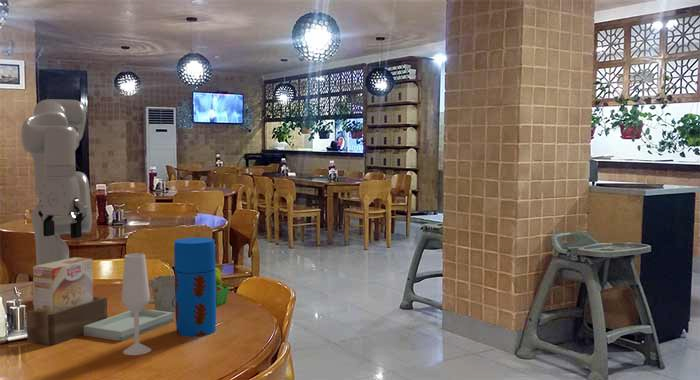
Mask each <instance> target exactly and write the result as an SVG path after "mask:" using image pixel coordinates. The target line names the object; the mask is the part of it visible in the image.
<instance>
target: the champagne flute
mask: <svg viewBox="0 0 700 380" xmlns="http://www.w3.org/2000/svg"><path fill="white" fill-rule="evenodd" d="M123 261H124V263H123V274H122V287H121V289H122V290H121V303H122V304H123V305H124V307H125V308H126V309H127V310H128V311H131V312H133V313H134V337H133V338H134V343H133V344H131V345H130V346H129V347H127V348H125V349H124V350H123V351H122V353H123V354H124V355H127V356H128V355H129V356H139V355H144V354H147V353H149V352H151V351H152V348H150V347H149V346H147V345H144V344H142V343H140V334H139V312H140V311H141V310H142V309H145V307H147V305H149V303H148V302H149V300H150V301H151V295H150V286H149V285H148V282H149V278H148V277H149V276H148V270H147V261H146V254H145V253H129V254H125V255H124V260H123Z"/></svg>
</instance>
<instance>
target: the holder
mask: <svg viewBox="0 0 700 380" xmlns="http://www.w3.org/2000/svg"><path fill="white" fill-rule="evenodd" d="M107 303H108V298H107V297H101V296H93V301H92V302H88V303H85V304H82V305H78V306H75V307H71V308H68V309H65V310H61V311H58V312H55V313H51V314H50V313H44V312H37V311H34V310H26V311H25V312H26V313H25V315H26V336H27V337H26V338H27V340H26V341H27V343H32V344H38V345H45V346H50V347H52V346H55V345H58V344H60V343H61V344H62V343H64V342H67V341H70V340H73V339H75V338H76V339H77V338H78V337H80V336H85V335H84V326H85V325H88V324H91V323H94V322H97V321H100V320H103V319H106V318H108V304H107Z"/></svg>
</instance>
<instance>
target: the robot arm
mask: <svg viewBox="0 0 700 380" xmlns="http://www.w3.org/2000/svg"><path fill="white" fill-rule="evenodd" d="M86 123H87V113H86V108H85V106H84V104H83V103H82V102H81V101H79V100H77V99H56V98H55V99H53V98H51V99H43V100H40V101H39V102H38V103H36V105H35V107H34V109H33V115H32V116H29V117H28V118H26V119H25V120H24V121H23V123H22V126H21V129H20V130H21V131H20V135H21V143H22V146H23V149H24V150H25V152H28V153H29V154H30V155H31V158H32V161H33V172H34V173H33V174H34V177H33V178H34V188H35V195H36V197H37V198H38V200H39V202H38V203H37V204H35V206H36V207H35V208H34V209H33V211H32V213H31V223H32V227H33V233H34V240H35V251H36V252H35V254H36V266H38V265H42V264H47V263H51V262H56V261H60V260H65V259H69V258H70V249H69V245H68V244H67V242H65V240H63V238H61V237H60V235H65V234H66V235H67V234H69V235H70V238H71V239H77V238H82V237H83V236H82V235H83V233H87V232H89V231H90V230H91V229H92V225H93V215H92V214H93V213H92V203H91V194H90V193H91V192H90V190H91V189H90V184H89V183H90V182H89V179H88V176H87V175H86V173H84V172H81V171H76V169H77V168H76V150H77V149H78V148H79V146H80V142H81V141H82V138H83V136H84V131H85V127H86ZM30 295H32V296H34V290H31V292H30ZM32 306H33V307H34V299H33V300H32Z"/></svg>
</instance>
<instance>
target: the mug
mask: <svg viewBox="0 0 700 380" xmlns="http://www.w3.org/2000/svg"><path fill="white" fill-rule="evenodd" d="M148 285H149V287H151V289H152V296H153V300H152V301H151V299H150V300H149V302H148V305H154V306H155V307H154V308H155V309H154V310H157V311H165V312H173V313H174V312H175V275H157V276H154V277H151V279H150V282H149V281H148Z"/></svg>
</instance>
